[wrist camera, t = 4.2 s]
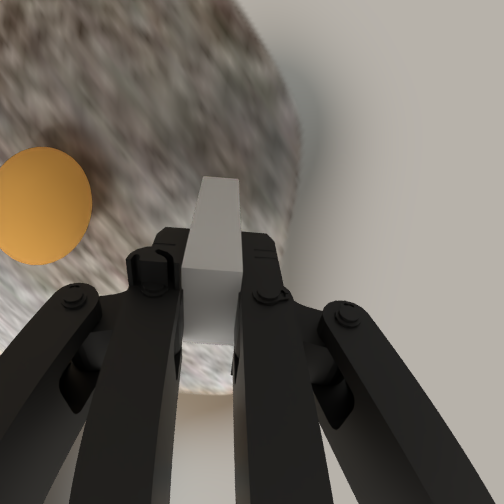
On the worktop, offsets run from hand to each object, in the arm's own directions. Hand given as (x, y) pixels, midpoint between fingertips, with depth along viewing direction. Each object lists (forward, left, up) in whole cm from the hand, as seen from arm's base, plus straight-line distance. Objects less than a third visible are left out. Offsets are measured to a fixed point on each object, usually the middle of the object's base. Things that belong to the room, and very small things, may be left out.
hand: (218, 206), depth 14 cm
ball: (0, -9, +1) cm, 9 cm away
